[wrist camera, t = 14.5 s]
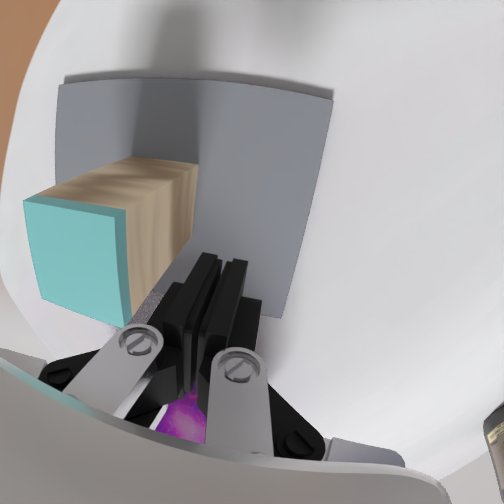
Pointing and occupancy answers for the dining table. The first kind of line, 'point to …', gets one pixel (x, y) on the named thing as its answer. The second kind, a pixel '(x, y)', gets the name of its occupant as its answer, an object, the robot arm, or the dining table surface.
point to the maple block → (110, 234)
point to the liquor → (496, 444)
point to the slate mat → (210, 163)
